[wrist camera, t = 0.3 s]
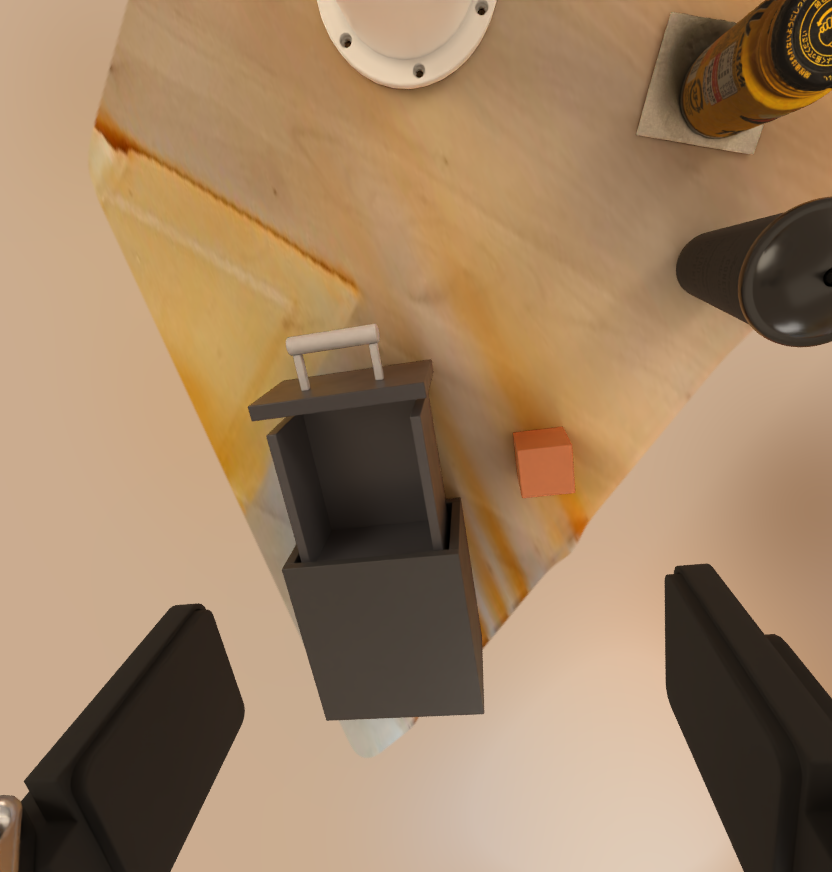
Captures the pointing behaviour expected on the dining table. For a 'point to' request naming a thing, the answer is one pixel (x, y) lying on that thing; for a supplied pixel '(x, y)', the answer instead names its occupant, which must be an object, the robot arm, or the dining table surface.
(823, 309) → the drinking cup
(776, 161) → the dining table surface
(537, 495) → the block
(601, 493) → the dining table surface
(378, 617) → the cabinet
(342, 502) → the drawer
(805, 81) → the condiment
